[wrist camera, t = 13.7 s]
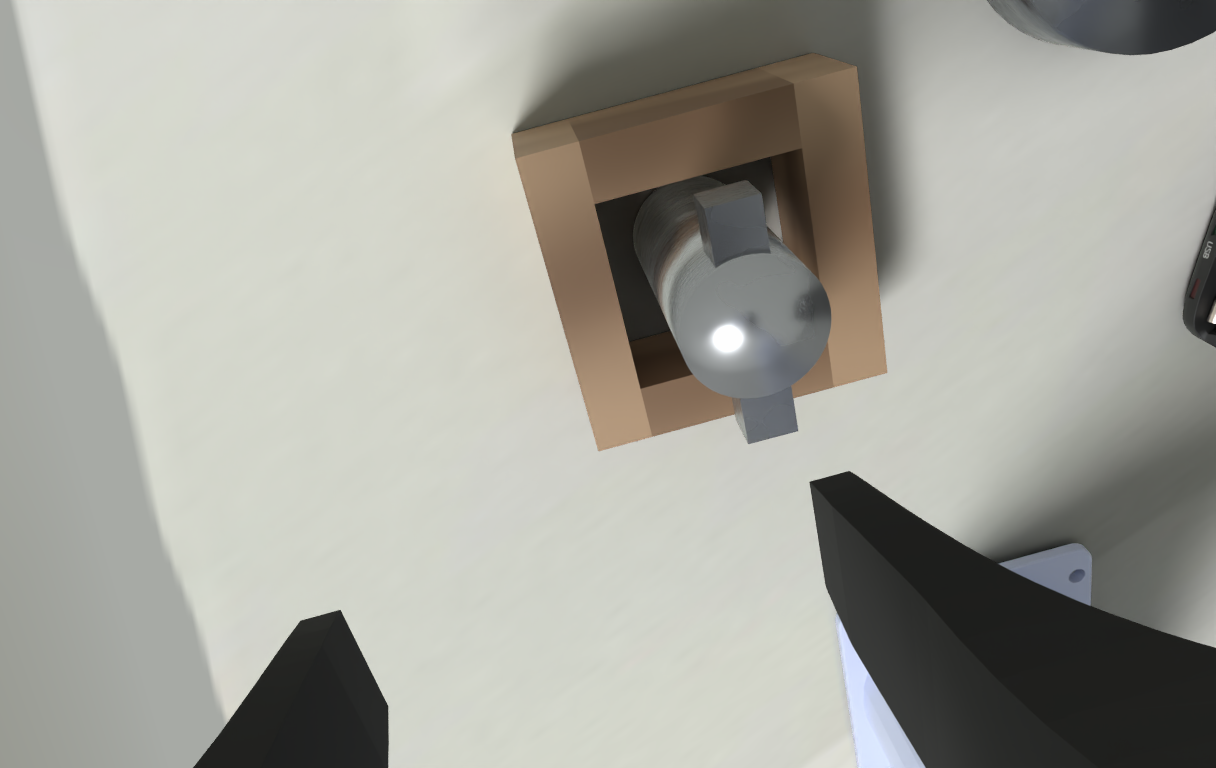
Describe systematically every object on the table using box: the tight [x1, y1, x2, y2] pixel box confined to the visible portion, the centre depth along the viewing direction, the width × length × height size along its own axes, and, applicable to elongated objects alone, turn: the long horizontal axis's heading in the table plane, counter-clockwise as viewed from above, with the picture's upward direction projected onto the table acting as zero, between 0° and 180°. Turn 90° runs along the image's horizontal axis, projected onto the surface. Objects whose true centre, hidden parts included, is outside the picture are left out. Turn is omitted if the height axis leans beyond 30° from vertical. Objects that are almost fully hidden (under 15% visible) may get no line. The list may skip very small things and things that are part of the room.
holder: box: [512, 53, 887, 451], centre depth 20 cm, size 7×7×3 cm
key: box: [633, 176, 831, 444], centre depth 19 cm, size 5×3×6 cm, turn 13°
